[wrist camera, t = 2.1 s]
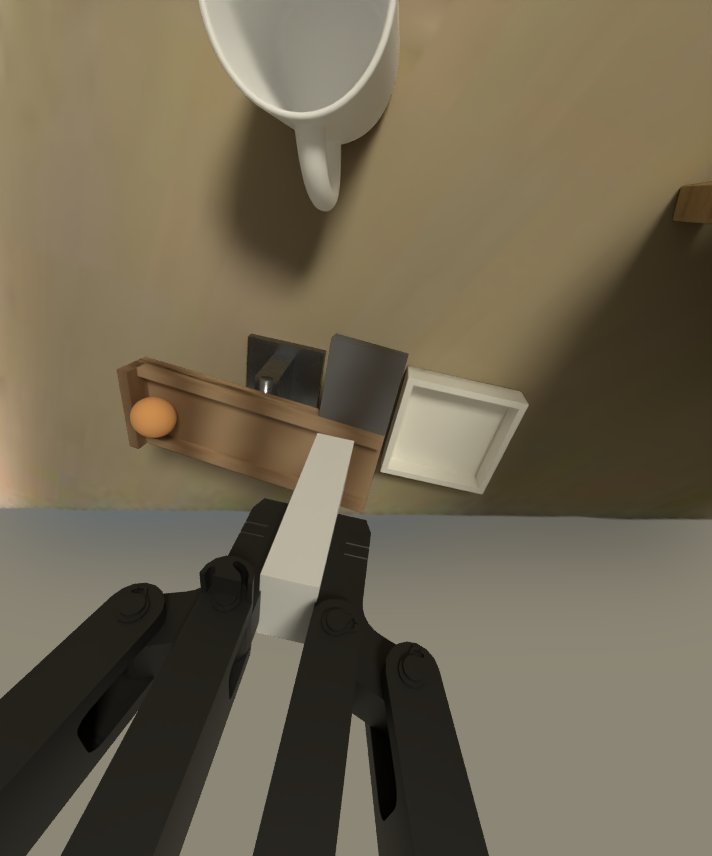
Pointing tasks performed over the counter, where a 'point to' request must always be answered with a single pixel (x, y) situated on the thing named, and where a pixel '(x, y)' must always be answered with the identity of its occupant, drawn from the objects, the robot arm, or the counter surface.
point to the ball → (153, 417)
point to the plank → (275, 416)
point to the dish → (450, 430)
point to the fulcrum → (285, 369)
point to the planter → (694, 203)
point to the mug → (311, 71)
